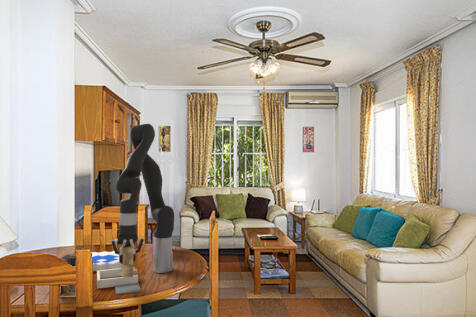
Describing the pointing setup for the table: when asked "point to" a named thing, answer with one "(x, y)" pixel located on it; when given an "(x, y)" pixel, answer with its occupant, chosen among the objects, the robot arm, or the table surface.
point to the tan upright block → (127, 262)
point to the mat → (127, 288)
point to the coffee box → (68, 289)
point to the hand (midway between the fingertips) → (127, 262)
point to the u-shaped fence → (113, 281)
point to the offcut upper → (133, 272)
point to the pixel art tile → (105, 261)
